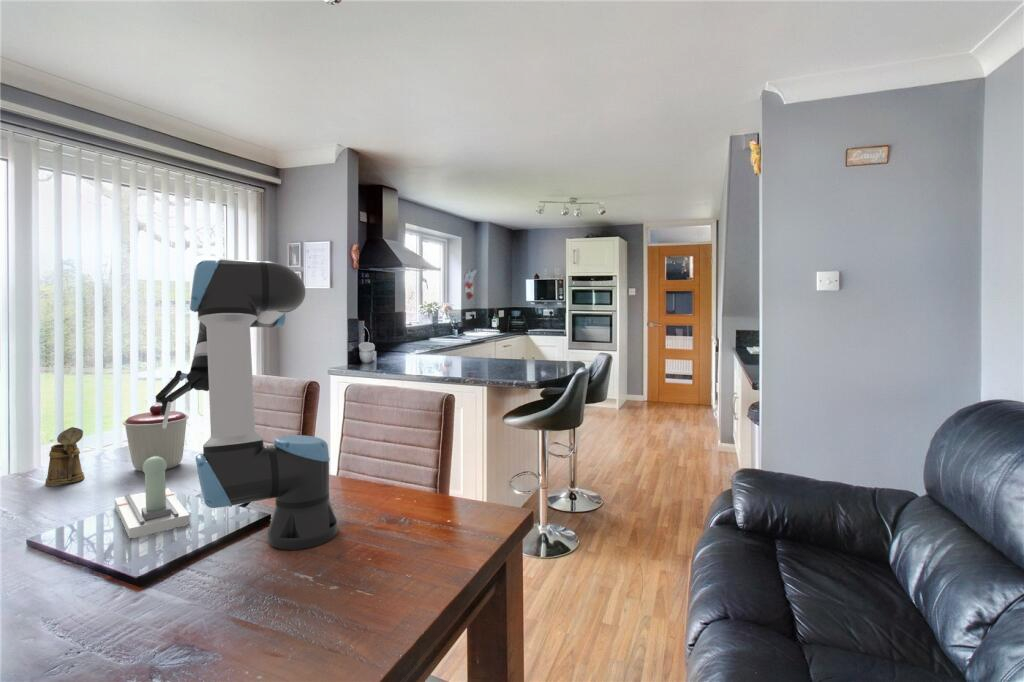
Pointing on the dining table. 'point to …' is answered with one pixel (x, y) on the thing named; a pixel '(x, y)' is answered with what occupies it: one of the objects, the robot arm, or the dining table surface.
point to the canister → (156, 437)
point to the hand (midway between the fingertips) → (194, 428)
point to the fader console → (138, 526)
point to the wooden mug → (65, 459)
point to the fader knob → (155, 489)
